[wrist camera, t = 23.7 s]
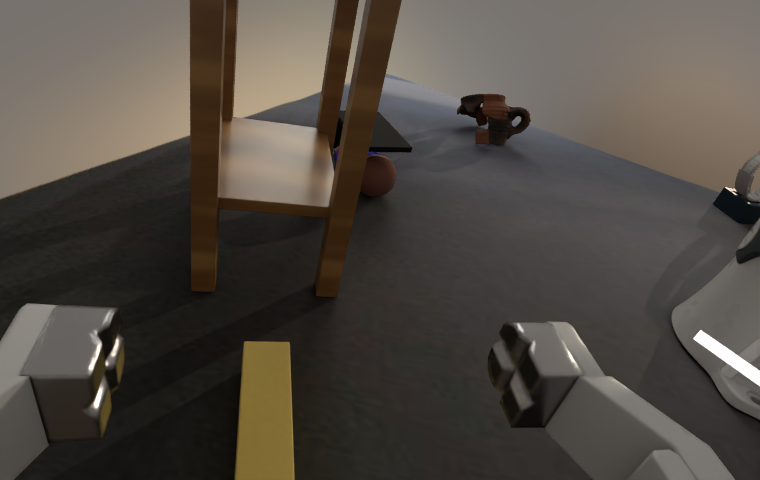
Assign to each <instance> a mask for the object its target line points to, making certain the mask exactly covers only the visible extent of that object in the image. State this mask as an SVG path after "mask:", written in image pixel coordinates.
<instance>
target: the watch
mask: <svg viewBox="0 0 760 480" xmlns="http://www.w3.org/2000/svg"><path fill="white" fill-rule="evenodd" d="M750 166H751V167H750ZM752 167H753V168H752ZM759 167H760V152H758V153H757V154H755V155H753V157H751V158H750V159H749V160H748V162H746V163H745V164H744V165H743V167H742V168H741V169H740V170H739V172H738V174H737V178H736V182H735V189H734V188H726V187H724V188H723V190H722V191H721V193H720V194H719V196H718V197H717V198H716V200H715V201H714V203H713V204H714V205H715V206H717V207H718V208H719V209H721V210H722V211H723V212H725V213H726V214H727V215H729V216H730V217H731V218H733V219H734V220H735V221H737V222H738V223H747V224H755V223H756V222H757V221H758V220H759V218H760V189H758V190H756V191H755V192H754V191H753V192H750V188H751V184H752V181H753V179H754V176H753V175H754V173H755V171H756V170H757V169H758V168H759Z"/></svg>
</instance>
